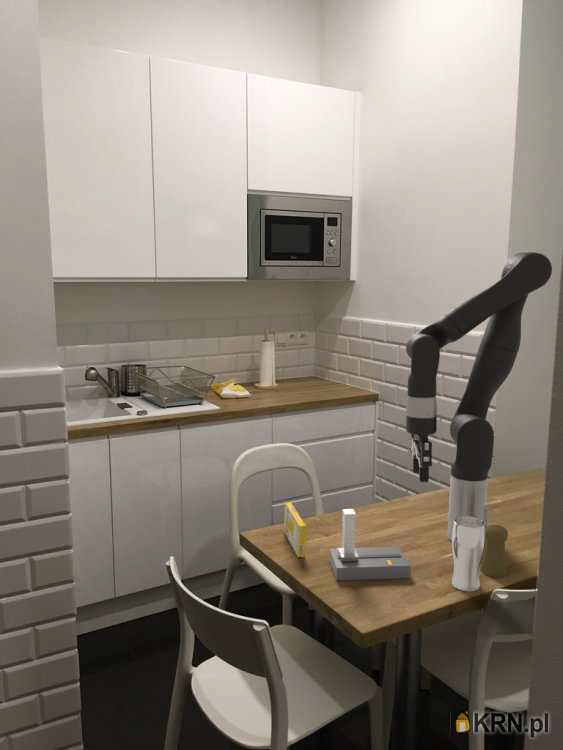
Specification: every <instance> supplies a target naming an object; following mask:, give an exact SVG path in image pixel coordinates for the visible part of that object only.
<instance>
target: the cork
mask: <svg viewBox="0 0 563 750" xmlns="http://www.w3.org/2000/svg"><path fill="white" fill-rule="evenodd" d="M508 535H509V533H508V530H507V528H505V527H504V526H503V525H499V524H488V526H487V527H486V528H485V538H486V543H485V544H484V551H483V555H482V559H481V563H480V567H479V572H481V573H482V574H483V575H485V576H488V577H490V578H491V577H493V578H503V577H506V576H507V575H508V569H507V568H508V567H507V554H506V553H507V552H506V542H507V540H508V537H509V536H508Z"/></svg>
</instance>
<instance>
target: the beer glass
mask: <svg viewBox="0 0 563 750" xmlns="http://www.w3.org/2000/svg"><path fill="white" fill-rule="evenodd" d="M485 544H486V543H485V522H484V521H483V520H481V519H479V518H476V517H472V516H459V517H456V518H455V519H454V525H453V531H452V541H451V550H452V557H453V574H452V578H451V585H452V587H453V588H455V589H456V588H457V590H458V591H462V592H468V593H469V592H475V591H478V590H479V589H480V587H481V586H480V583H481V582H480V578H479V577H480V576H479V574H480V573H479V572H480V567H481V562H482V558H483V553H484V548H485Z"/></svg>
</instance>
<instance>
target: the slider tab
mask: <svg viewBox="0 0 563 750" xmlns="http://www.w3.org/2000/svg"><path fill="white" fill-rule="evenodd" d="M356 517H357V515H356V511H355V510H354V508H346V509H344V508H343V509H342V518H341V519H342V524H341V525H342V526H341V547H337V548H338V554H339V557H340V559H341V562H342V561H359V556H358V554H357V552H356V550H355V548H356V527H357V526H356V523H357V522H356V521H357V518H356Z"/></svg>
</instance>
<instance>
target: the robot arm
mask: <svg viewBox="0 0 563 750" xmlns="http://www.w3.org/2000/svg"><path fill="white" fill-rule="evenodd" d="M552 273H553V265H552V263H551V261H550V259H549V258H548V257H547V256H546V255H544V254H542V253H540V252H537V251H535V252H533V251H532V252H531V251H528V252H519V253H514V254H513V255H511V257H509V258H508V259H507V260H506V262H505V264H504V265H503V268H502V271H501V277H500V279H499V280H498V281H496V282H495V283H493V284H492V285H490V286H489V287H488V288H485V289H484V290H482V291H480V292H478V293H476V294H475V295H472V296H470V297H468V298H466V299H465V300H463V301H461V302H460V303H459V304H457V305H455V306H454V307H452V309H450V310H449V311H447V312H446V313H445V314H444V315H442V316H441V317H440V318H438V320H436V321H434V322H433V323H430V324H429V325H427V326H426V327H424V328H422V329H420V330H419V331H417V332H416V333H414V334H413V335H412V336H411V337H410V338H409V339H408V340H407V343H406V345H405V346H406V347H405V351H406V354H407V355H408V358H410V361H411V362H410V374H409V375H408V378H407V396H406V397H407V399H406V404H405V405H406V406H405V407H406V409H405V410H406V411H405V412H406V413H405V414H406V415H405V431H406V433H408V434H410V451H409V452H410V454H411V459H412V472H413V473H414V474H418V475H419V476H418V477H419V478H418V480H419V481H420V483H428V482H429V481H430V480H429V479H430V468H431V467H432V465H433V461H432V460H433V454H432V453H433V451H432V450H433V443H432V441H431V440H429V436H430V435H435V434H436V433H437V429H438V427H437V425H438V421H437V420H438V402H437V376H438V373H439V372H438V370H439V365H440V359H441V358H440V357H441V354H440V353H441V349H443V348H444V347H446V346H447V345H448V344H451V343H452V344H453V343H454V342H457V341H459V340H460V339H462V338H463V337H464V336H467V334H468V333H470V332H472V330H474V329H475V328H476V327H478V326H479V325H481V324H482V323H484V322H485V321H486V320H488V322H487V325H486V328H485V330H484V333H483V335H482V338H481V341H480V343H479V347H478V349H477V353H476V355H475V359H474V363H473V365H472V368H471V371H470V374H469V378H468V381H467V385H466V387H465V390H464V393H463V394H462V397H461V400H460V402H459V405H458V406H457V408H456V411H455V413H454V415H453V417H452V418H451V419H452V420H451V422H450V426H449V435H450V437H451V439H452V441H453V442H454V443H456V453H455V461H453V462H452V463H451V465H450V479H449V481H450V482H449V494H448V495H449V497H448V498H449V499H448V514H447V528H446V529H447V535H446V537H447V539H448V540H449V541H450V542H452V531H453V525H454V519H455V518H456V517H459V516H472V517H476V518H479V519H481V520H483V521H484V522H485V528H486V527H487V526H489V515H490V514H489V513H490V507H489V506H488V505H487V498H488V495H487V494H488V482H489V481H488V479H489V473H490V472H489V471H490V469H492V463H493V454H494V446H495V445H494V444H495V432H494V429H493V426H492V424H491V423H490V422H489V420H487V415H488V412H489V408H490V405H491V402H492V400H493V398H494V396H495V394H496V393H497V391H498V390H499V389H500V387H501V386H502V385H503V383H505V381H506V379H508V377H509V375H510V373H511V372H512V370H513V366H514V364H515V361H516V358H517V357H518V356H517V355H518V353H519V350H520V347H521V337H522V314H523V310H524V307H525V304H526V301H527V298H528V296H529V294H531V293H532V292H534V291H537V290H539V289H541V288H542V287H544V286H546V284H547V283H548V281H549V280H550V279H551V277H552ZM485 544H486V538H485Z"/></svg>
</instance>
